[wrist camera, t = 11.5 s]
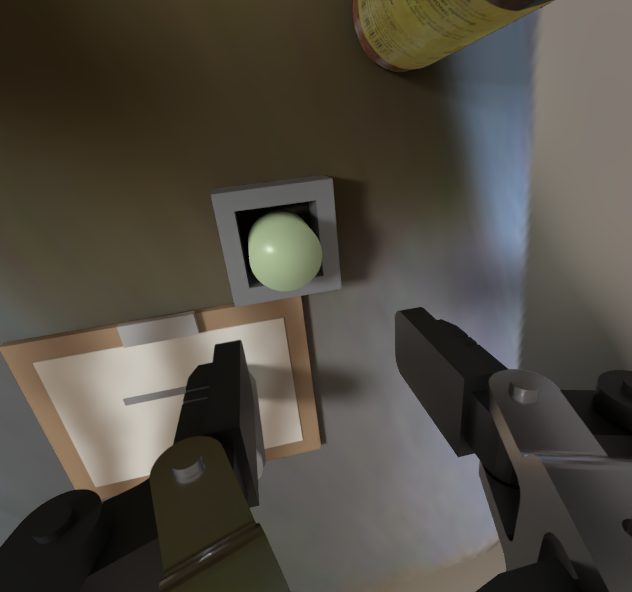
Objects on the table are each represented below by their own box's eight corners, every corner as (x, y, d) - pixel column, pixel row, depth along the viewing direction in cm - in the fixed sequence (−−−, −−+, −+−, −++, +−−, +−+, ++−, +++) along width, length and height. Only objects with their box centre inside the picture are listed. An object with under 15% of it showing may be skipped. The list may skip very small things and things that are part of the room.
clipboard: (85, 496, 30) (80, 509, 29) (2, 340, 24) (-8, 348, 23) (319, 443, 33) (322, 452, 32) (299, 289, 27) (301, 295, 26)
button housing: (235, 289, 26) (235, 307, 23) (214, 188, 23) (210, 194, 20) (331, 274, 27) (341, 288, 24) (322, 174, 24) (332, 178, 21)
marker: (217, 401, 28) (214, 499, 20) (208, 367, 27) (201, 458, 19) (258, 392, 28) (270, 484, 21) (251, 358, 27) (261, 442, 19)
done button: (254, 276, 23) (256, 296, 20) (242, 214, 22) (242, 226, 19) (314, 266, 24) (325, 285, 21) (307, 205, 22) (318, 215, 19)
